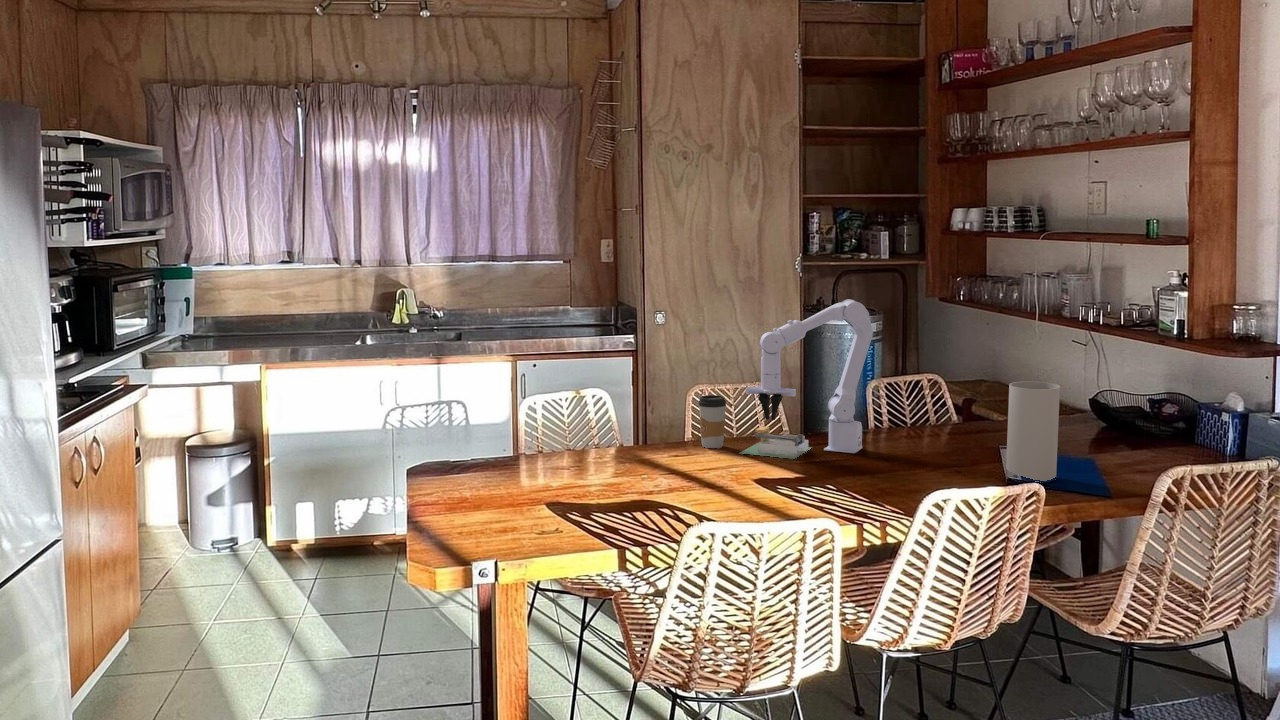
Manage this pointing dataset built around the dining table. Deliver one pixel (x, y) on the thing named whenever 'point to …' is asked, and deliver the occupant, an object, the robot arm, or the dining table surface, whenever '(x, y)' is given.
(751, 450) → the pcb mat
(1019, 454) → the cylinder vase
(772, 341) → the robot arm
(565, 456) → the dining table surface
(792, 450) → the heatsink block
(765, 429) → the latch
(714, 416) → the coffee cup
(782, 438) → the strap
